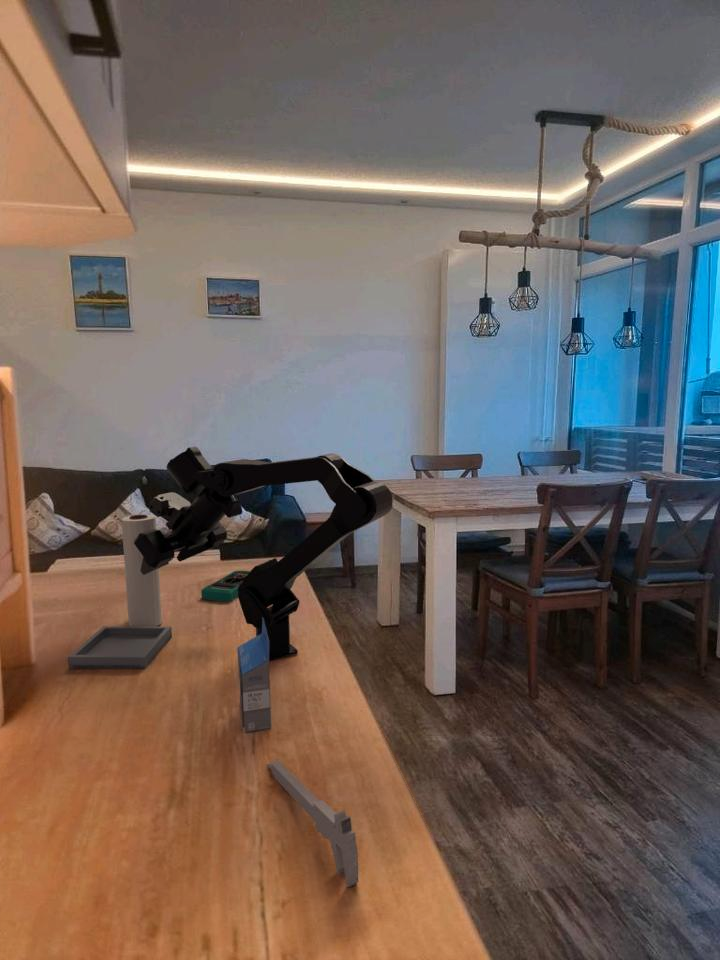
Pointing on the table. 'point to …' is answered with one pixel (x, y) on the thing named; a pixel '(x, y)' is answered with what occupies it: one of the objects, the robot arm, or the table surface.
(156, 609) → the paper towel roll
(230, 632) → the table surface
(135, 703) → the table surface
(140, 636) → the tray
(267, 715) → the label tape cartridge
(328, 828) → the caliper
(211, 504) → the robot arm
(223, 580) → the digital multimeter
